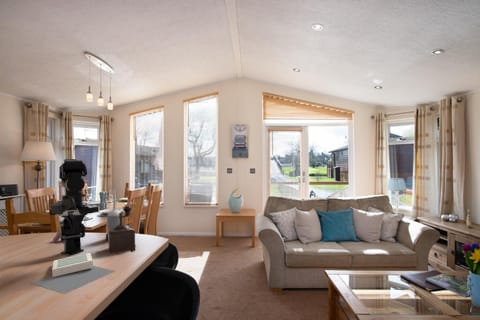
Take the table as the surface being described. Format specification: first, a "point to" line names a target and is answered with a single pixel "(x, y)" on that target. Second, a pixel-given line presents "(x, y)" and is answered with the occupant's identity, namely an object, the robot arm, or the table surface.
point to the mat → (73, 279)
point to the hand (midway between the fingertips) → (74, 232)
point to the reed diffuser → (113, 217)
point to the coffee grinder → (122, 235)
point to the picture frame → (72, 264)
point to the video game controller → (57, 236)
